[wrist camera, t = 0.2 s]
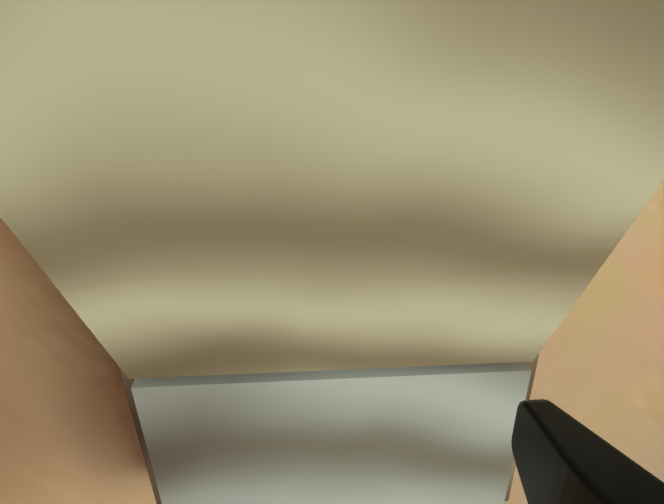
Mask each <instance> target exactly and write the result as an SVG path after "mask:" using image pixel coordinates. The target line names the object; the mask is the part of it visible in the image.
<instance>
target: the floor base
mask: <svg viewBox="0 0 664 504" xmlns="http://www.w3.org/2000/svg"><path fill="white" fill-rule="evenodd" d="M538 356H539V354H538V355H537V356H536V358H535V359H534V360H533V362H511V363H487V364H464V365H441V366H418V367H394V368H371V369H348V370H325V371H302V372H278V373H255V374H232V375H209V376H185V377H162V378H139V379H129V378H128V377H127V376H126V375H125V373H124V372H123V371H122V370H121V368H120V367H119V369H120V373H121V376H122V380H123V384H124V387H125V391H126V394H127V398H128V402H129V405H130V409H131V412H132V416H133V420H134V423H135V427H136V431H137V434H138V438H139V441H140V445H141V449H142V452H143V456H144V459H145V463H146V467H147V470H148V474H149V478H150V481H151V485H152V488H153V492H154V496H155V499H156V503H157V504H504V502H505V501H508V499H509V494H510V489H511V485H512V480H513V475H514V470H515V466H516V463H515V460H514V456H513V452H512V446H511V439H512V433H513V428H514V422H515V417H516V411H517V407H518V405H519V403H520V402H521V401H523V400H529V399H530V394H531V390H532V385H533V380H534V375H535V371H536V366H537V361H538Z"/></svg>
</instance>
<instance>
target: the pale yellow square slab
mask: <svg viewBox="0 0 664 504" xmlns="http://www.w3.org/2000/svg"><path fill="white" fill-rule="evenodd" d="M663 180H664V0H0V218H1V219H2V220H3V221H4V223H5V224H6V225H7V226H8V228H9V229H10V230H11V231H12V233H13V234H14V235H15V236H16V238H17V239H18V240H19V242H20V243H21V244H22V245H23V247H24V248H25V249H26V250H27V252H28V253H29V254H30V255H31V257H32V258H33V259H34V260H35V262H36V263H37V264H38V265H39V267H40V268H41V269H42V270H43V272H44V273H45V274H46V275H47V277H48V278H49V279H50V280H51V282H52V283H53V284H54V285H55V287H56V288H57V289H58V290H59V292H60V293H61V294H62V295H63V297H64V298H65V299H66V301H67V302H68V303H69V304H70V306H71V307H72V308H73V309H74V311H75V312H76V313H77V314H78V316H79V317H80V318H81V319H82V321H83V322H84V323H85V324H86V326H87V327H88V328H89V329H90V331H91V332H92V333H93V334H94V336H95V337H96V338H97V339H98V341H99V342H100V343H101V344H102V346H103V347H104V348H105V349H106V351H107V352H108V353H109V355H110V356H111V357H112V358H113V360H114V361H115V362H116V363H117V365H118V366H119V367H120V368H121V370H122V371H123V372H124V373H125V375H126V376H127V377H128V378H129V379H139V378H162V377H185V376H209V375H232V374H255V373H278V372H302V371H325V370H348V369H371V368H394V367H418V366H441V365H464V364H487V363H511V362H533V360H534V359H535V358H536V356H537V355H538V354H539V352H540V351H541V349H542V348H543V347H544V345H545V344H546V342H547V341H548V340H549V338H550V337H551V335H552V334H553V333H554V331H555V330H556V329H557V327H558V326H559V324H560V323H561V322H562V320H563V319H564V317H565V316H566V315H567V313H568V312H569V310H570V309H571V308H572V306H573V305H574V304H575V302H576V301H577V299H578V298H579V297H580V295H581V294H582V292H583V291H584V290H585V288H586V287H587V285H588V284H589V283H590V281H591V280H592V279H593V277H594V276H595V274H596V273H597V272H598V270H599V269H600V267H601V266H602V265H603V263H604V262H605V260H606V259H607V258H608V256H609V255H610V254H611V252H612V251H613V249H614V248H615V247H616V245H617V244H618V242H619V241H620V240H621V238H622V237H623V235H624V234H625V233H626V231H627V230H628V229H629V227H630V226H631V224H632V223H633V222H634V220H635V219H636V217H637V216H638V215H639V213H640V212H641V210H642V209H643V208H644V206H645V205H646V204H647V202H648V201H649V199H650V198H651V197H652V195H653V194H654V192H655V191H656V190H657V188H658V187H659V185H660V184H661V183H662V181H663Z"/></svg>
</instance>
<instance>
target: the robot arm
mask: <svg viewBox="0 0 664 504" xmlns="http://www.w3.org/2000/svg"><path fill="white" fill-rule="evenodd" d="M511 446H512V452H513V456H514V460H515V463H516V466H517V469H518V473H519V476H520V479H521V482H522V486H523V489H524V492H525V495H526V499H527V502H528V504H664V482H662V481H661V480H659V479H658V478H657V477H655V476H654V475H652V474H651V473H650V472H648V471H647V470H645V469H644V468H643V467H641V466H640V465H638V464H637V463H636V462H634V461H633V460H631V459H630V458H629V457H627V456H626V455H624V454H623V453H622V452H620V451H619V450H617V449H616V448H615V447H613V446H612V445H610V444H609V443H608V442H606V441H605V440H604V439H602V438H601V437H599V436H598V435H597V434H595V433H594V432H592V431H591V430H590V429H588V428H587V427H585V426H584V425H583V424H581V423H580V422H578V421H577V420H576V419H574V418H573V417H571V416H570V415H569V414H567V413H566V412H564V411H563V410H562V409H560V408H559V407H557V406H556V405H555V404H553V403H552V402H550V401H548V400H544V399H539V400H523V401H521V402H520V403H519V405H518V407H517V411H516V417H515V422H514V428H513V433H512V439H511Z"/></svg>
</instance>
